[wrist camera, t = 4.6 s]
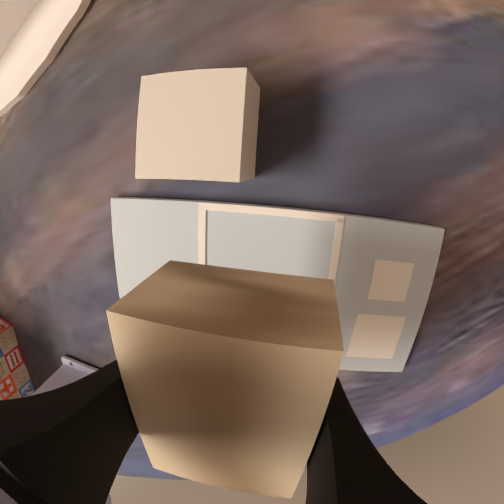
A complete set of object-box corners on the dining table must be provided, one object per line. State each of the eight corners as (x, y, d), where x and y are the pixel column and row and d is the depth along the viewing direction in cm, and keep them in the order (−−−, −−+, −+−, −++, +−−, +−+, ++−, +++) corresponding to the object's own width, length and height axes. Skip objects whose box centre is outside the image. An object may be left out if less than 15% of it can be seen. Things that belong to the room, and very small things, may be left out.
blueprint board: (129, 329, 21) (125, 334, 20) (116, 196, 17) (109, 198, 17) (400, 366, 18) (402, 372, 17) (440, 226, 14) (445, 229, 14)
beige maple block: (170, 173, 16) (135, 178, 13) (175, 91, 15) (141, 76, 11) (254, 177, 16) (239, 182, 12) (260, 88, 14) (246, 67, 10)
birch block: (184, 408, 13) (153, 467, 9) (170, 260, 11) (106, 310, 7) (299, 429, 12) (291, 498, 8) (333, 279, 10) (344, 351, 6)
